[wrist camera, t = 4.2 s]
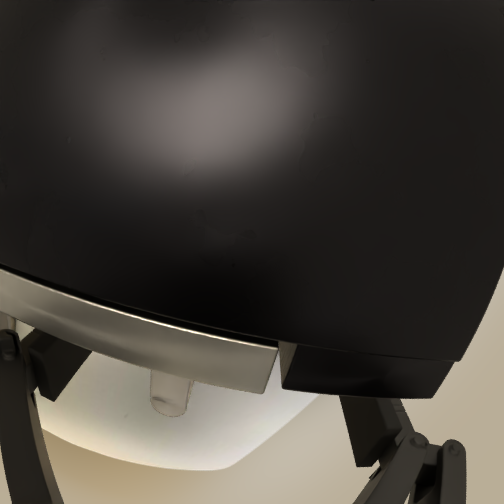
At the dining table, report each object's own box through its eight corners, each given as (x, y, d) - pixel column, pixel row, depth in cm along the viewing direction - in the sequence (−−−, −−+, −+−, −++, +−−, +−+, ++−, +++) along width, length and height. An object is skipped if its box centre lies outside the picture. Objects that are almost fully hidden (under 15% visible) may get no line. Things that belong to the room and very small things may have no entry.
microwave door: (248, 290, 26) (229, 483, 9) (92, 253, 25) (-50, 361, 8) (267, 210, 24) (279, 348, 7) (98, 177, 23) (-81, 229, 6)
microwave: (325, 251, 25) (422, 420, 8) (96, 202, 24) (-77, 278, 7) (373, 42, 19) (507, -68, 2) (141, 4, 18) (24, -105, 1)
